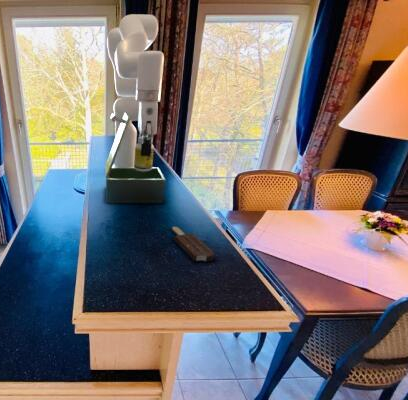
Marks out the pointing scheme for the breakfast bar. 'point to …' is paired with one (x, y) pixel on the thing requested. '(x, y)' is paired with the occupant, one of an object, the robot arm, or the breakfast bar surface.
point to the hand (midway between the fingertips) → (144, 152)
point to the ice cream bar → (193, 246)
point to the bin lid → (116, 141)
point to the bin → (135, 186)
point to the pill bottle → (142, 158)
